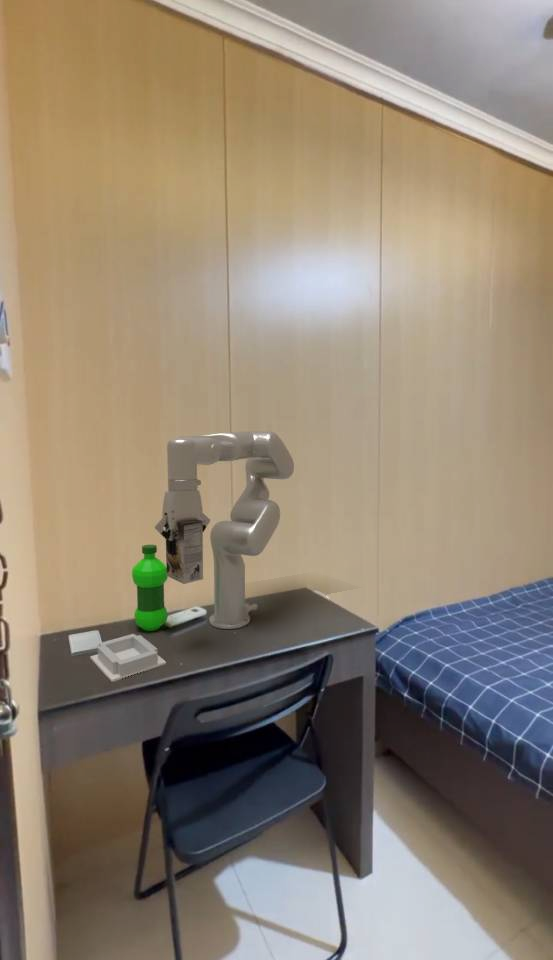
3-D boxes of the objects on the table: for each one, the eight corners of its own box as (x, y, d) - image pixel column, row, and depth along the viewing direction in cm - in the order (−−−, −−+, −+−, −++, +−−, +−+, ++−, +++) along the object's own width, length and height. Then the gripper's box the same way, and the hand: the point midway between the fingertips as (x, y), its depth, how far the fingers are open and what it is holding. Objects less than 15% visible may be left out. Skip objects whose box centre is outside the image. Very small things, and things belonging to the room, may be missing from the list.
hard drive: (104, 646, 131) (98, 629, 142) (71, 653, 127) (68, 634, 138) (104, 652, 131) (98, 634, 142) (71, 659, 127) (68, 640, 138)
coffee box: (165, 576, 131) (163, 517, 130) (186, 571, 136) (184, 514, 134) (183, 584, 125) (181, 523, 123) (204, 579, 129) (203, 519, 127)
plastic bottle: (128, 626, 147) (125, 545, 144) (160, 617, 153) (158, 540, 150) (141, 637, 139) (139, 552, 136) (175, 628, 146) (173, 546, 143)
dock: (141, 643, 135) (140, 631, 135) (166, 664, 124) (165, 650, 123) (90, 658, 126) (89, 645, 126) (111, 682, 115) (111, 667, 114)
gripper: (203, 481, 136) (204, 544, 138) (145, 487, 125) (147, 554, 127) (218, 484, 130) (219, 549, 132) (158, 490, 119) (160, 561, 121)
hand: (184, 551), depth 129 cm, fingers closed on coffee box, 6 cm apart
